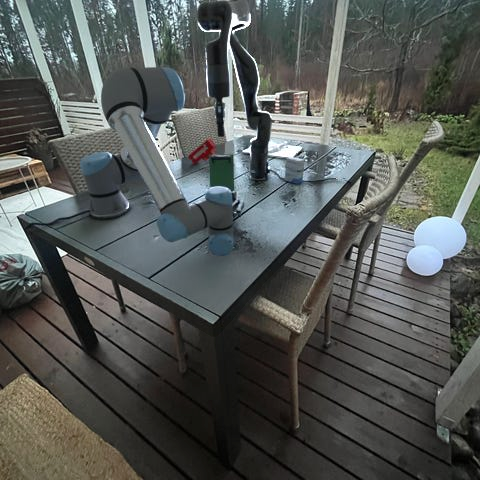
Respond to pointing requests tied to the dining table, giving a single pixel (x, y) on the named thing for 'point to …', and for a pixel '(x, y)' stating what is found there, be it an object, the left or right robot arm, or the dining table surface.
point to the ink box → (294, 170)
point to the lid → (221, 171)
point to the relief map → (280, 150)
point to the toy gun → (203, 151)
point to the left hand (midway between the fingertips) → (222, 195)
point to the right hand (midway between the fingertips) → (221, 134)
